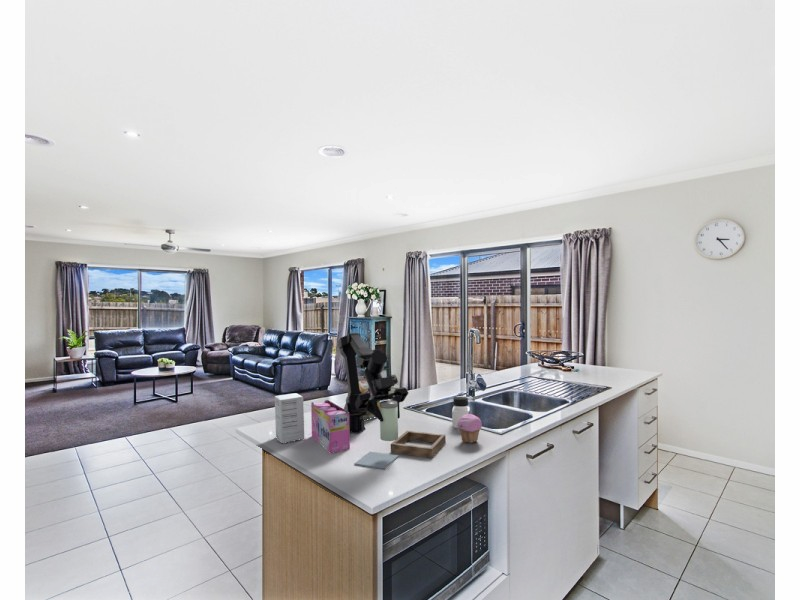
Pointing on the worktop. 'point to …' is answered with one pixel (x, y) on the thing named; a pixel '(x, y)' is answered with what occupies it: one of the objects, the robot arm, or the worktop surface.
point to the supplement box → (289, 417)
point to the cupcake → (469, 427)
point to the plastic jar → (389, 420)
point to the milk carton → (364, 389)
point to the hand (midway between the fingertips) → (390, 419)
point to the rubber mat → (376, 460)
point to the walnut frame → (402, 448)
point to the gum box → (330, 426)
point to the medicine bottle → (459, 409)
